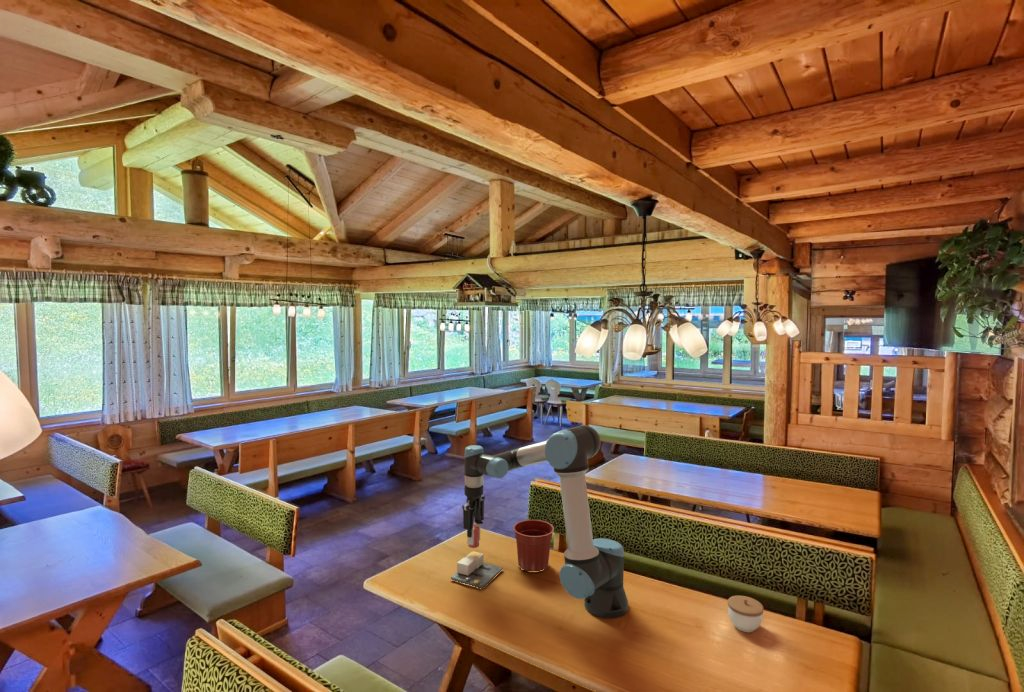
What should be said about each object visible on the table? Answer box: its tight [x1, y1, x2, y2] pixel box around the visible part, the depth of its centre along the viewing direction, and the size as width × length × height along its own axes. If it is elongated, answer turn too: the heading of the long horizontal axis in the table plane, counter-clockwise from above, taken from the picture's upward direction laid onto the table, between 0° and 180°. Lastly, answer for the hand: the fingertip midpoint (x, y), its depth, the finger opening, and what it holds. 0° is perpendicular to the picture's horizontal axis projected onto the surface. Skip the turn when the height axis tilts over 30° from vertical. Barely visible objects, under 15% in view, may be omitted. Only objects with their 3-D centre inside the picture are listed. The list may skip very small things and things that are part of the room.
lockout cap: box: [467, 525, 480, 549], centre depth 208 cm, size 4×4×7 cm
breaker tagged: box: [465, 550, 484, 569], centre depth 208 cm, size 5×5×4 cm
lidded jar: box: [727, 595, 765, 633], centre depth 170 cm, size 11×11×9 cm
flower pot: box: [512, 519, 555, 572], centre depth 211 cm, size 16×16×16 cm
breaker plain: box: [456, 556, 475, 575], centre depth 203 cm, size 5×5×4 cm
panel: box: [450, 561, 504, 589], centre depth 203 cm, size 14×16×2 cm
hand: (473, 541), depth 208 cm, fingers closed on lockout cap, 4 cm apart
